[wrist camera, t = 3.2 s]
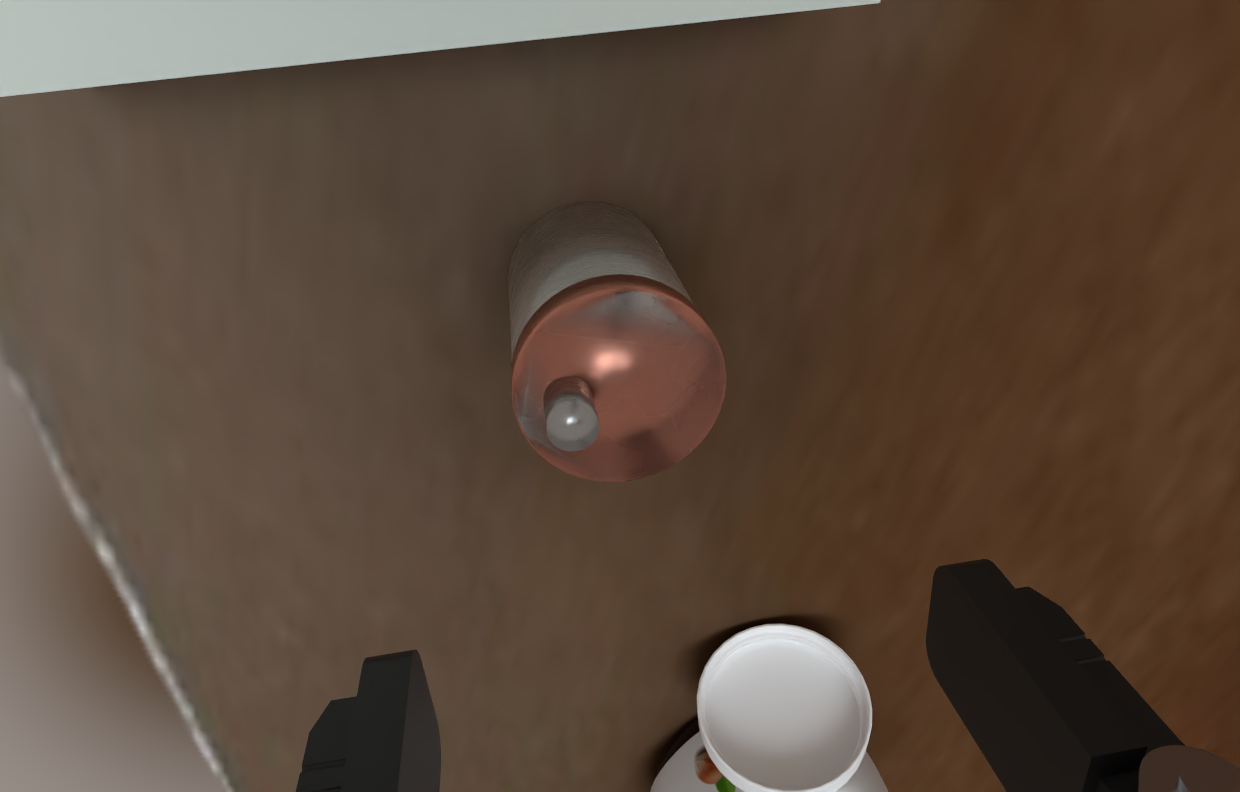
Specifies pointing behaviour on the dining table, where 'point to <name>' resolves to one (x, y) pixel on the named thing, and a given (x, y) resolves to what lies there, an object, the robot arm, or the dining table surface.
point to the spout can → (607, 347)
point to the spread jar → (776, 719)
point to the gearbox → (301, 32)
